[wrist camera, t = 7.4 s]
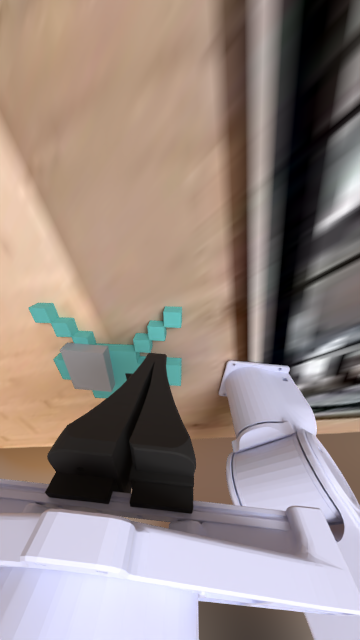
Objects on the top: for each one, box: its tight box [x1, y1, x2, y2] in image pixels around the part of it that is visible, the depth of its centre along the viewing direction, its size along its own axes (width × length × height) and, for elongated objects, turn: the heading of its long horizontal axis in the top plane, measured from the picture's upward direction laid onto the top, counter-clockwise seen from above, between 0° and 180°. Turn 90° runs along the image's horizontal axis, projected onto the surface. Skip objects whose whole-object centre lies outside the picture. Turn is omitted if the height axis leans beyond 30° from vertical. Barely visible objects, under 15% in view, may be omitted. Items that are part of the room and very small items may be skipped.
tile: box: [60, 343, 115, 392], centre depth 25 cm, size 2×8×6 cm
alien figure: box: [29, 303, 182, 398], centre depth 27 cm, size 20×2×20 cm
